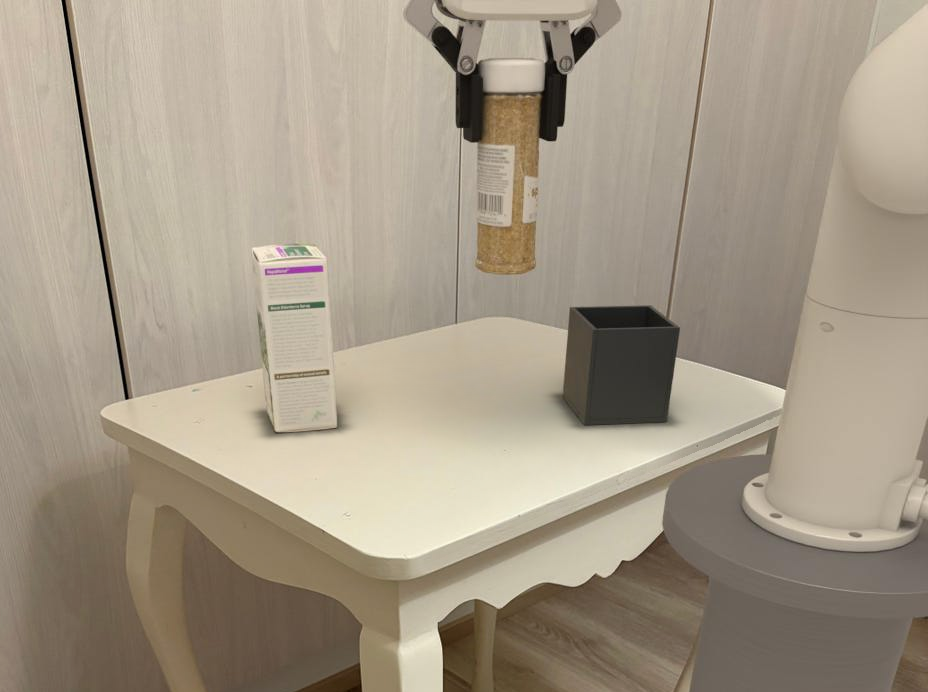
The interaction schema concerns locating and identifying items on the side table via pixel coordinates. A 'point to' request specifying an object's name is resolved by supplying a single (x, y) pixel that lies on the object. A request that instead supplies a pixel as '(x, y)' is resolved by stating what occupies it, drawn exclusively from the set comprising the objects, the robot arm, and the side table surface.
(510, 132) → the sprinkles bottle
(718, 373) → the side table surface
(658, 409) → the dark grey open box
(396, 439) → the side table surface
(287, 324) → the syrup box
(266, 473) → the side table surface
